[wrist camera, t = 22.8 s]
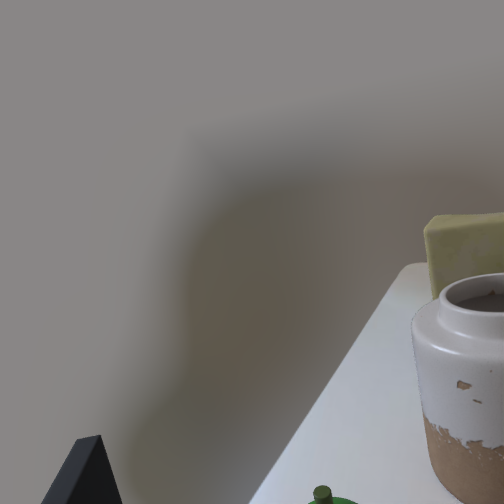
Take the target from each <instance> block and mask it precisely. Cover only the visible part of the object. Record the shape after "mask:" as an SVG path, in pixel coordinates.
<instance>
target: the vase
mask: <svg viewBox="0 0 504 504" xmlns="http://www.w3.org/2000/svg"><path fill="white" fill-rule="evenodd" d="M411 337H412V345H413V351H414V358H415V365H416V371H417V378H418V384H419V391H420V398H421V404H422V411H423V418H424V424H425V431H426V438H427V444H428V450H429V456H430V460H431V464H432V467H433V470H434V472H435V474H436V476H437V477H438V479H439V480H440V482H441V483H442V484H443V486H444V487H445V488H446V489H447V490H448V491H449V492H450V493H451V494H452V495H454V496H455V497H456V498H457V499H459V500H460V501H461V502H463V503H464V504H504V273H494V274H485V275H478V276H473V277H469V278H465V279H462V280H459V281H456V282H454V283H452V284H450V285H448V286H447V287H445V288H444V289H443V290H442V291H441V293H440V295H439V298H437V299H435V300H433V301H431V302H429V303H427V304H426V305H424V306H423V307H422V308H420V309H419V310H418V312H417V313H416V314H415V315H414V317H413V319H412V323H411Z"/></svg>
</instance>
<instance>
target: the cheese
mask: <svg viewBox="0 0 504 504" xmlns="http://www.w3.org/2000/svg"><path fill="white" fill-rule="evenodd" d="M424 238H425V246H426V253H427V261H428V268H429V275H430V282H431V289H432V296H433V300H435V299H437V298H439V295H440V293H441V291H442V290H443V289H444V288H445V287H447V286H448V285H450V284H452V283H454V282H456V281H459V280H462V279H465V278H469V277H473V276H478V275H485V274H494V273H504V212H502V213H493V214H471V215H470V214H465V215H464V214H461V215H438V216H435V217H434V218H432V220H431V221H430V222H429V223H428V224H427V225H426V226H425V228H424Z"/></svg>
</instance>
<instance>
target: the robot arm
mask: <svg viewBox="0 0 504 504" xmlns="http://www.w3.org/2000/svg"><path fill="white" fill-rule="evenodd" d="M41 504H122V501H121V498H120V495H119V492H118V489H117V485H116V482H115V479H114V475H113V472H112V470H111V466H110V463H109V460H108V457H107V453H106V450H105V447H104V445H103V441H102V438H101V435H97V436H92V437H87V438H82V439H77V440H76V442H75V444H74V446H73V447H72V449H71V451H70V453H69V455H68V457H67V458H66V460H65V462H64V464H63V465H62V467H61V469H60V471H59V473H58V474H57V476H56V478H55V480H54V482H53V483H52V485H51V487H50V489H49V491H48V492H47V494H46V496H45V498H44V499H43V501H42V503H41Z"/></svg>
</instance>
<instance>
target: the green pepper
mask: <svg viewBox="0 0 504 504" xmlns="http://www.w3.org/2000/svg"><path fill="white" fill-rule="evenodd" d="M313 495H314V499H315V501H312V502H310V503H308V504H358V503H355V502H353V501H351V500H348V499H344V498H339V497H332V493H331V489H330V488H329V487H328V486H324V485H322V486H318V487H316V488H315V489H314V492H313Z"/></svg>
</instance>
